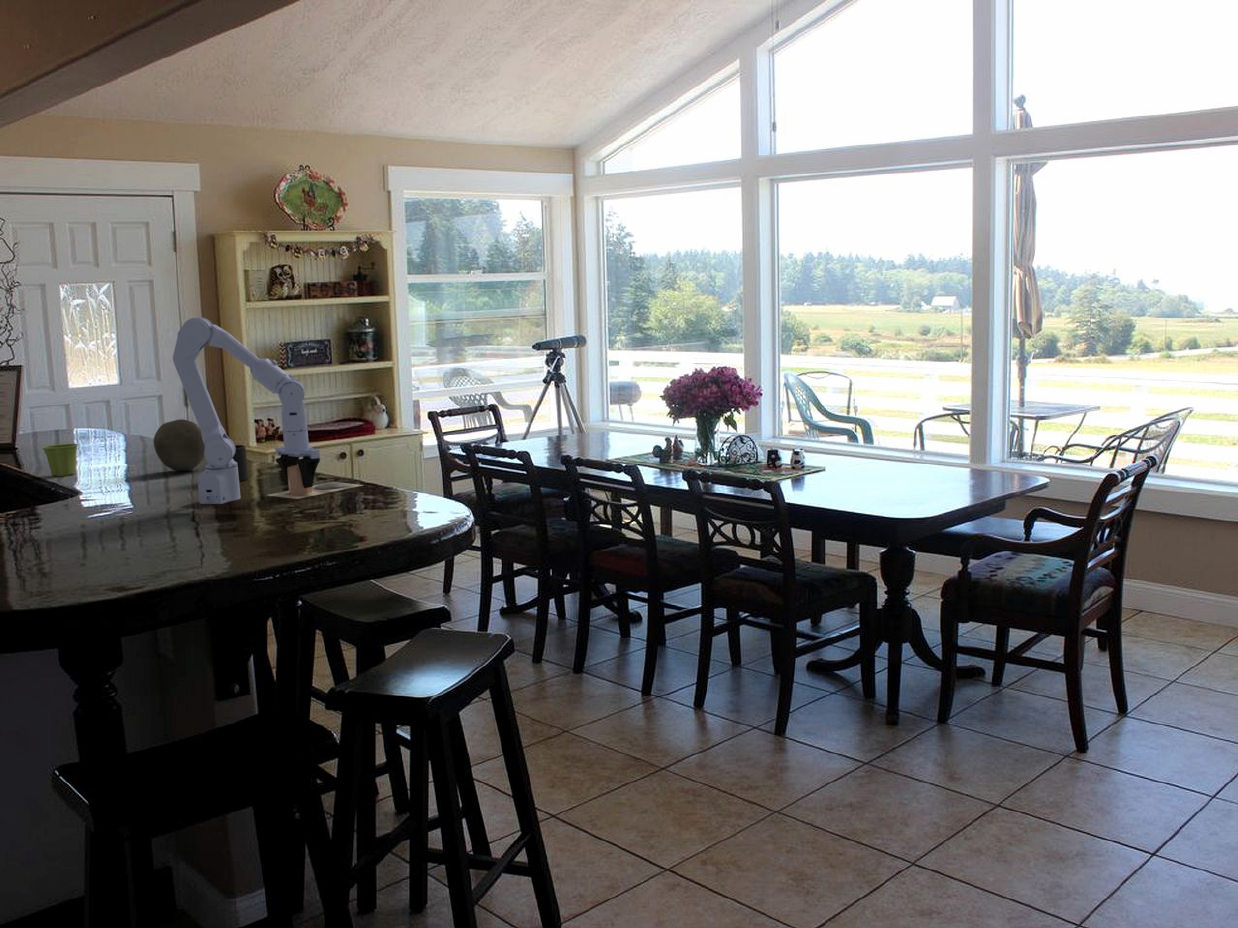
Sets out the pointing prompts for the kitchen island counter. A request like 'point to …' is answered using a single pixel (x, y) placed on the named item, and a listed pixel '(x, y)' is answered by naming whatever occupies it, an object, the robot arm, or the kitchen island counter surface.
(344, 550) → the kitchen island counter surface
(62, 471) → the plant pot
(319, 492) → the board
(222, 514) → the kitchen island counter surface
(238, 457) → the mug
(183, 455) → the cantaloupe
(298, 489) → the wooden block
